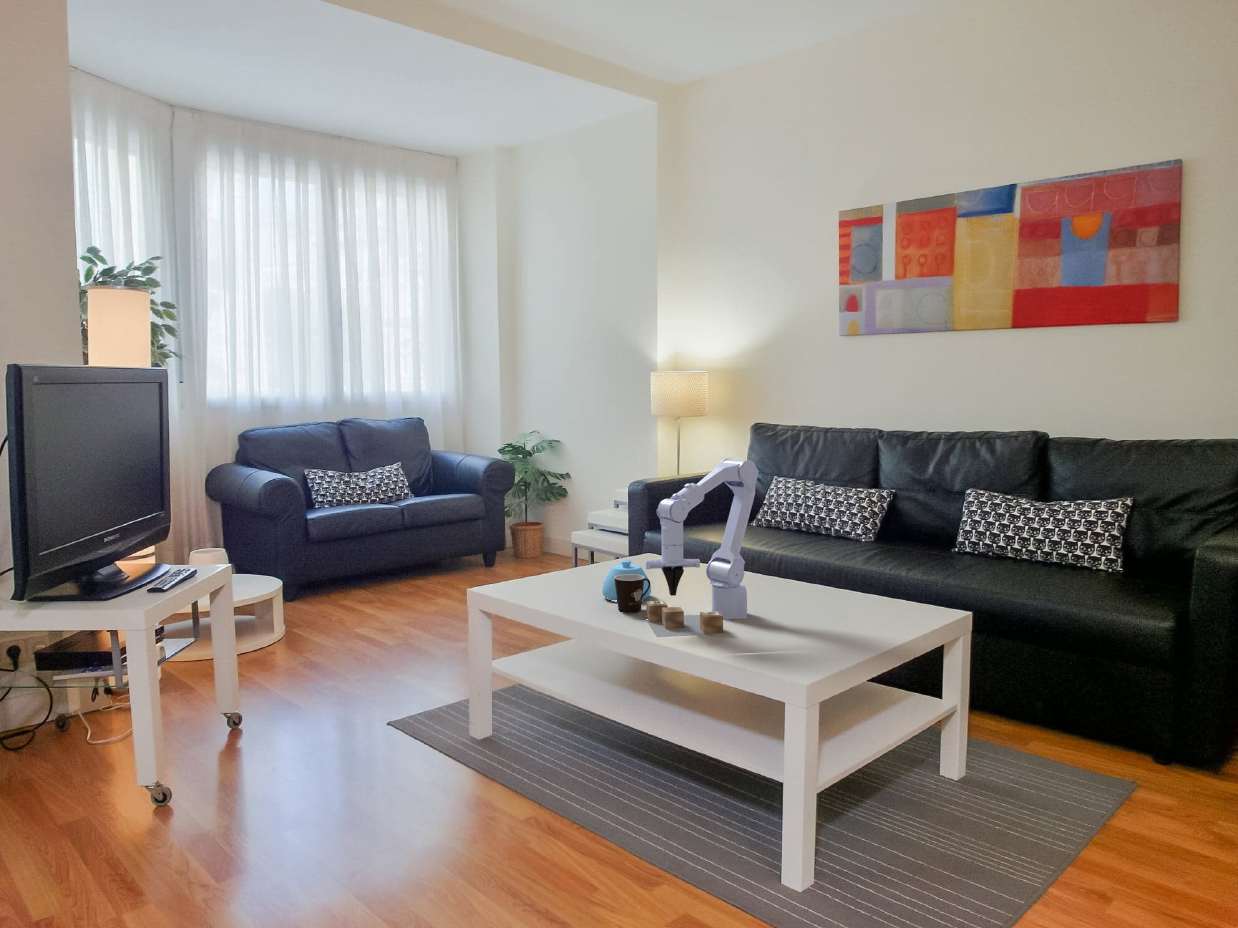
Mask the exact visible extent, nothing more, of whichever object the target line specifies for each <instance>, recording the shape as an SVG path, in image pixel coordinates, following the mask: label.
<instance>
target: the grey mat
mask: <svg viewBox="0 0 1238 928" xmlns="http://www.w3.org/2000/svg"><path fill="white" fill-rule="evenodd" d="M644 619H645V620H646V619H647V616H644ZM646 623H648V625H649V627H650V629H651V630H652V632H653V633H654V635H655V637H656V638H661V637H665V638H666V637H681V636H683V637H684V636H706V635H711V634H704V633H703V632H702V631H701V630H700V614H693V615H692V614H689V615H688V614H687V615H685V614H684V628H674V629H665V628H664V626H663V625H662V622H649V621H648V620H646ZM725 634H726V632H725V631H724V630H723V633H715V634H714V635H725Z"/></svg>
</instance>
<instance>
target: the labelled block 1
mask: <svg viewBox="0 0 1238 928" xmlns="http://www.w3.org/2000/svg"><path fill="white" fill-rule="evenodd" d="M645 603H646V606H645V607H646V617H647V619H648V621H649V622H662V608H664V607H669V606H668V603H666V601H665V600H653V601H649V600H648V601H646V602H645Z"/></svg>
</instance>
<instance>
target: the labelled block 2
mask: <svg viewBox="0 0 1238 928" xmlns="http://www.w3.org/2000/svg"><path fill="white" fill-rule="evenodd" d="M699 615H700V630H701V631H702V632H703V633H704V634H710V635H716V634H715V633H723V631H724V619H723V615H722V614H721V613H720V612H719V611H714V612H709V611H700V612H699Z"/></svg>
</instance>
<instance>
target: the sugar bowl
mask: <svg viewBox="0 0 1238 928" xmlns="http://www.w3.org/2000/svg"><path fill="white" fill-rule="evenodd" d="M625 574H635V575H641V576H644V578H646V579H649V577H648V576H647V574H646V572H645V571H644V569H643V567H642V566H640V565H639V564H633V563H632V560H626V559H625V560H621V564H616V565H612V566H611V568H610V569H609V571H608V572H607V574H606V576H605V578H604V579H603V584H602V588H601V594H602V596H604V598H605V597H606V598H608V599H610V600H617V595H616V587H615V579H614V577H615V576H618V575H625ZM651 586H652V585H650V588H649V590H648V592H647V593H646V594H645V595H644V596H643V598H642V600H644V599H646V598H647V599H648V598H649V596H650V595H651V594H652V587H651ZM647 588H648V581H646V580H645V581H644V587H643V593H644V592H645V591H646V590H647ZM606 598H605V599H606ZM647 599H646V600H647ZM644 601H645V600H644Z"/></svg>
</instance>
